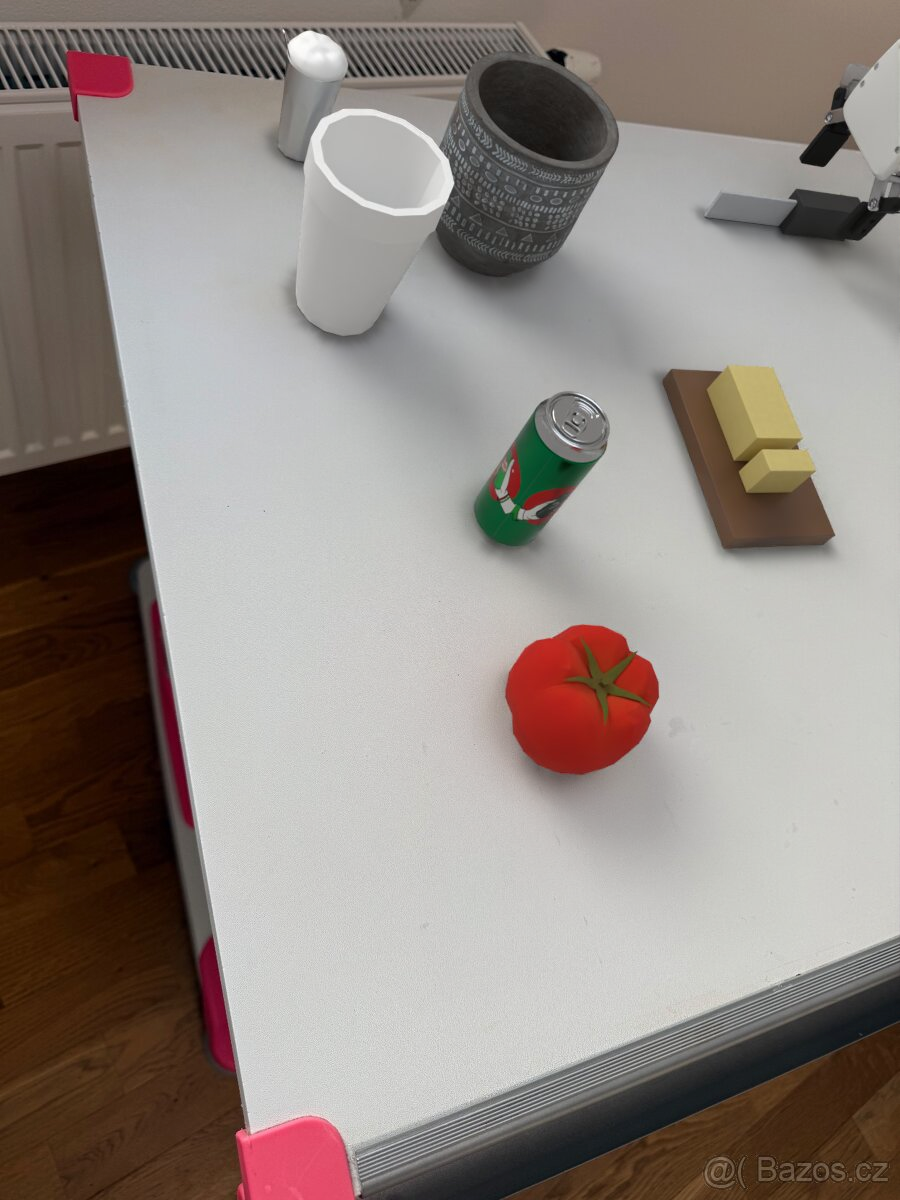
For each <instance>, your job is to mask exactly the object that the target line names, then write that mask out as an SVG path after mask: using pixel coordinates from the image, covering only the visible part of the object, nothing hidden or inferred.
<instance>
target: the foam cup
mask: <svg viewBox="0 0 900 1200" xmlns="http://www.w3.org/2000/svg"><path fill="white" fill-rule="evenodd" d="M303 174H304V190H303V200H302V201H303V202H302V212H301V222H300V223H301V225H300V233H299V234H300V235H299V243H298V244H299V245H298V257H297V266H296V276H295V277H296V278H295V298H296V299H295V300H296V304H297V307H298V309H299V311H300V312H301V313H302V315H303V316H304V317H305V319H306V320H307V322H310V323H311V324H313V325H314V326H316V327H317V328H318V329H320V330H321V331H323V332H326V333H330V334H333V335H337V336H341V337H346V336H356V335H362V334H363V333H364V332H366V331H368V330H369V329H371V328H372V327H373V326H374V324H375V323H376V322H377V320H378V319H379V317H380V315H381V314H382V312H383V311H384V309H385V307H386V306H387V304H388V302H389V301H390V299H391V298H392V296H393V294H394V292H395V291H396V289H397V287H398V286H399V284H400V282H401V281H402V280H403V278H404V276H405V274H406V273H407V271H408V270H409V268H410V266H411V265H412V263H413V262H414V260H415V258H416V257H417V255H418V254H419V252H420V249H421V248H422V246H423V245H424V243H425V242H426V241H427V238H428V237H429V235H430V234H432V233H433V232H436V227H437V224H438V222H439V219H440V217H441V215H442V212H443V210H444V207H445V205H446V203H447V200H448V198H449V195H450V193H451V190H452V188H453V185H454V180H453V176H452V172H451V168H450V164H449V160H448V159H447V157H446V156H445V155H444V154H443V152H442V151H441V150H440V149H439V146H438V144H437V143H436V142H435V141H434V139H433V138H432V137H431V136H429V135H428V134H427V133H425V132H423V131H422V130H420V129H419V128H418V127H417V126H415V125H413V124H412V123H410V122H409V121H407V120H406V119H404V118H401V117H398V116H395V115H392V114H389V113H386V112H383V111H380V110H377V109H374V108H343V109H340V110H338V111H335V112H334V113H331V115H329V116H326V117H324V118H322V119H321V120H320V122H319V124H318V126H317V128H316V129H315V131H314V133H313V135H312V137H311V139H310V143H309V147H308V151H307V155H306V159H305V161H304V163H303Z"/></svg>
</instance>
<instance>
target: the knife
mask: <svg viewBox="0 0 900 1200" xmlns="http://www.w3.org/2000/svg"><path fill="white" fill-rule="evenodd" d="M861 202H862V201H861V199H860V198H859V197H858V196H851V195H844V194H837V193H829V192H823V191H816V190H810V189H802V188H795V189H794V191H793V192H792V193H791V194H790V195H789V197H788V198H783V197H776V196H771V195H770V196H769V195H762V194H755V193H748V192H740V191H733V190H725V189H721V190H720V191H719V192H718V194H717V195H716V196H715V198H714V199H713V201H712V202H711V204H710V205H709V207H707V209H706V210H705V212H704V214H703V215H704V217H705V218H708V219H717V220H725V221H733V222H742V223H749V224H757V225H758V224H759V225H767V226H775V227H779V230H780V231H781V233H782V235H788V236H789V235H791V236H798V237H807V238H815V239H823V240H832V241H842V242H844V241H846V239H840V238H837V237H836V234H835V231H836V229H837V228H838V227H839V226H840V225H841V223H842V222H843V221H844V220H845V219H846V218H847V217H848V216H849V215H850V213H851V212H852V211H853V210H854V209H855V208H856V207H857V206H858V205H859V203H861Z"/></svg>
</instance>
